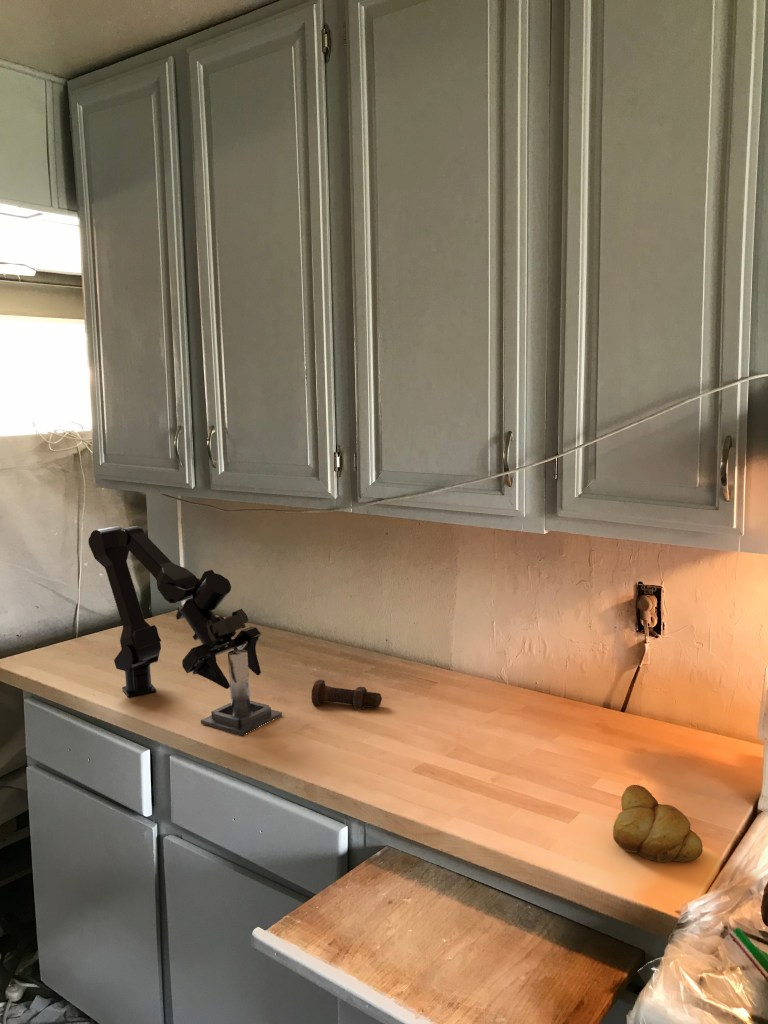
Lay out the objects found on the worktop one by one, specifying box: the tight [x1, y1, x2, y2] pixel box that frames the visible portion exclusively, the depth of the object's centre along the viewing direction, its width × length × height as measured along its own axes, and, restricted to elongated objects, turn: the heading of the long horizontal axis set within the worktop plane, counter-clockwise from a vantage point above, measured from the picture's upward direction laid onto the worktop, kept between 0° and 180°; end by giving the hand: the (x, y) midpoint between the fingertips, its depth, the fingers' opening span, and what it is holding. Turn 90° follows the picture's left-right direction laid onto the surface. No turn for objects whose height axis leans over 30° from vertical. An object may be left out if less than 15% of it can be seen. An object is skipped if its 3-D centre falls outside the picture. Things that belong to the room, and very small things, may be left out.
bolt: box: [310, 679, 383, 710], centre depth 183 cm, size 6×5×15 cm
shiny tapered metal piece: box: [227, 649, 251, 718], centre depth 176 cm, size 4×4×14 cm
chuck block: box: [200, 700, 283, 737], centre depth 177 cm, size 12×12×2 cm
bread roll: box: [612, 784, 704, 863], centre depth 123 cm, size 13×10×8 cm
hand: (244, 680), depth 175 cm, fingers open, 9 cm apart
